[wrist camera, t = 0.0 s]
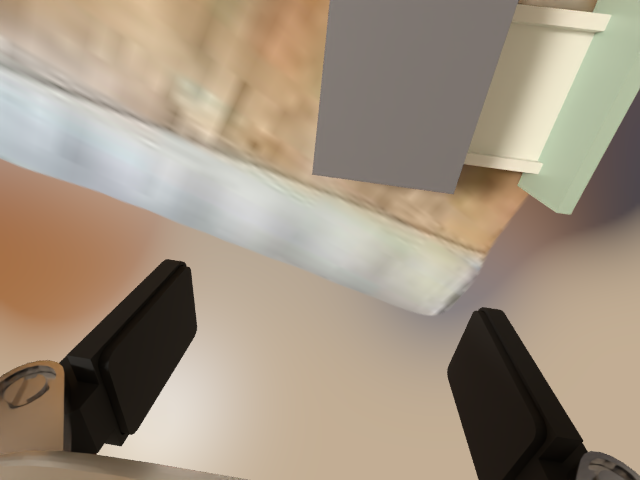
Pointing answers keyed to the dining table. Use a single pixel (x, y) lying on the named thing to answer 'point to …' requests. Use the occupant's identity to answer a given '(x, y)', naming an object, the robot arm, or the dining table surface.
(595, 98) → the green drawer
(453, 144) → the grey drawer cabinet
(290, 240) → the dining table surface
